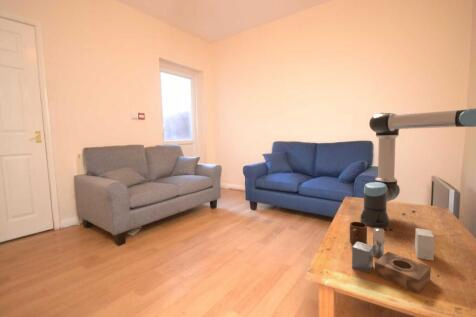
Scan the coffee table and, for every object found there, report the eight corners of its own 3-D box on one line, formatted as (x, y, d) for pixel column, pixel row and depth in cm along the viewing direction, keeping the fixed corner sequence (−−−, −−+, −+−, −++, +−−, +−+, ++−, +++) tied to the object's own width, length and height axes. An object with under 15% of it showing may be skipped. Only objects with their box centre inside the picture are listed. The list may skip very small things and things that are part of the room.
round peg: (371, 255, 102) (371, 229, 100) (375, 252, 104) (376, 227, 103) (381, 259, 99) (381, 232, 97) (385, 255, 101) (386, 229, 100)
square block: (352, 267, 93) (352, 246, 92) (356, 261, 98) (357, 241, 97) (368, 273, 89) (368, 251, 88) (372, 266, 93) (373, 246, 92)
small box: (433, 261, 95) (435, 237, 94) (416, 258, 98) (417, 234, 97) (430, 252, 102) (431, 230, 101) (414, 249, 105) (415, 227, 104)
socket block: (374, 274, 89) (374, 261, 88) (387, 262, 96) (388, 251, 95) (418, 293, 77) (418, 279, 77) (430, 279, 84) (430, 266, 84)
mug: (362, 251, 105) (362, 232, 104) (344, 246, 110) (345, 228, 109) (368, 241, 114) (368, 223, 113) (352, 237, 119) (352, 220, 118)
